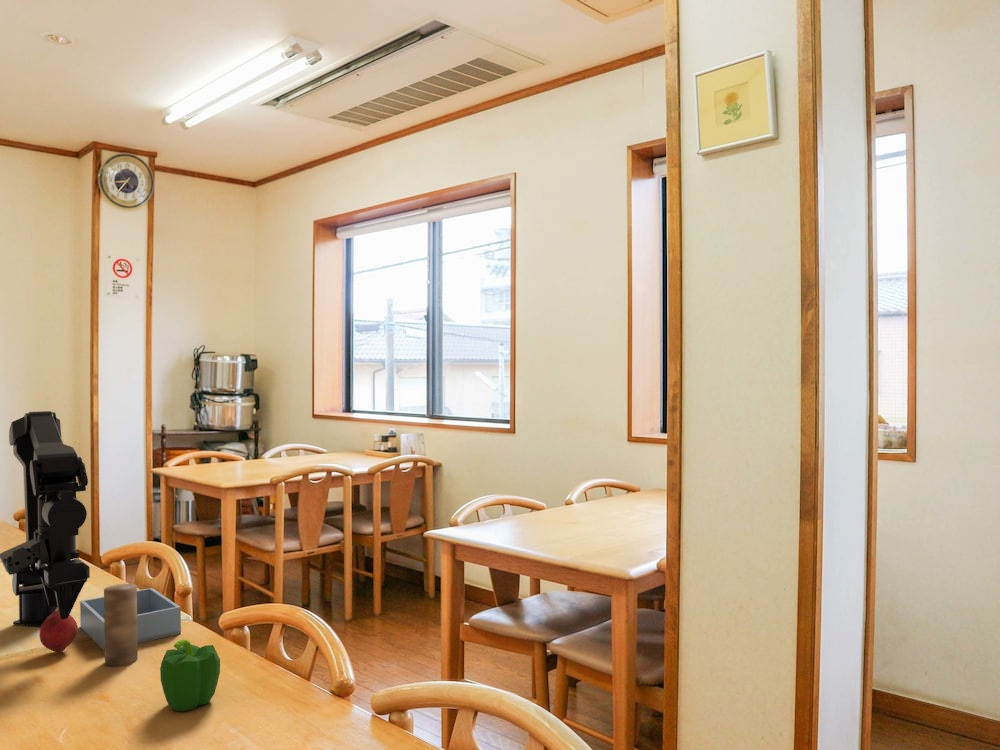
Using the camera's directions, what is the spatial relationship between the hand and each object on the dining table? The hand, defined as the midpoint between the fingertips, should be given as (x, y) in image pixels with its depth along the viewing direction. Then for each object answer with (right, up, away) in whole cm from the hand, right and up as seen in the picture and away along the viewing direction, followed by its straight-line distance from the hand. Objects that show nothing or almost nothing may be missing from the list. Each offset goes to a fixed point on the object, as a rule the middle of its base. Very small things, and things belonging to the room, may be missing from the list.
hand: (58, 612), depth 137 cm
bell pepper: (+32, -7, -22) cm, 39 cm away
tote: (+7, -7, +11) cm, 15 cm away
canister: (+13, -7, -4) cm, 15 cm away
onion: (0, -7, 0) cm, 7 cm away
